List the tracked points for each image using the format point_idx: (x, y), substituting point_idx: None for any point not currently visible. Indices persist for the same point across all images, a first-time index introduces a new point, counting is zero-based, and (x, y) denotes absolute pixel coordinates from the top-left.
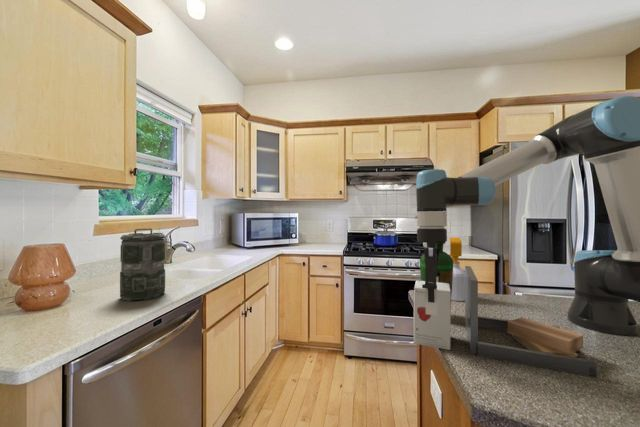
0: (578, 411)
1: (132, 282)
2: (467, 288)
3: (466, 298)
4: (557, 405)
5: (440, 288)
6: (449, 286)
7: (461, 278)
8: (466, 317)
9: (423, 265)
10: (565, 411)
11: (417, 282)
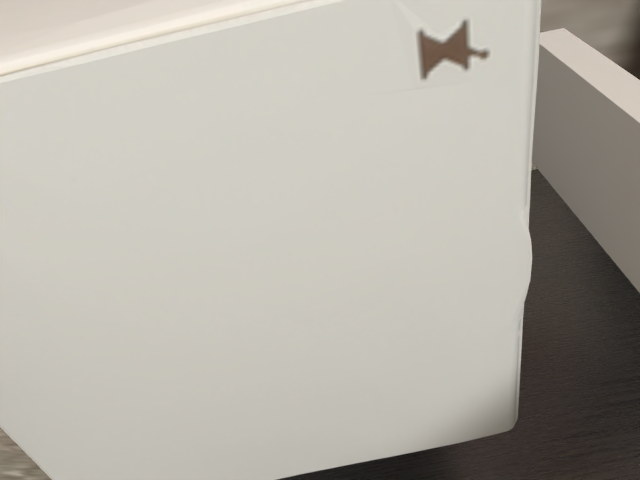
0: (34, 472)
1: None
2: (554, 471)
3: (627, 331)
4: (18, 447)
5: (96, 451)
6: (362, 455)
7: None
8: (554, 226)
9: None
10: (2, 457)
11: (286, 54)
